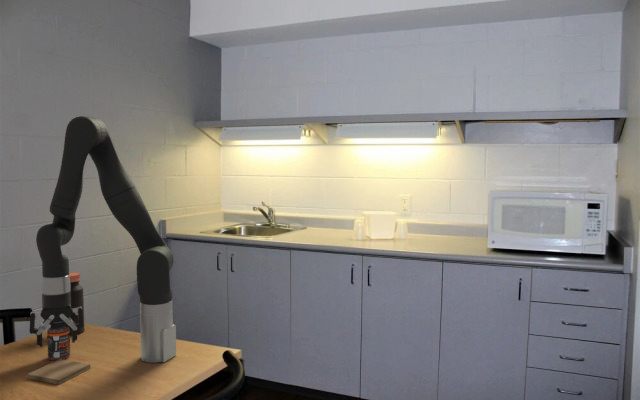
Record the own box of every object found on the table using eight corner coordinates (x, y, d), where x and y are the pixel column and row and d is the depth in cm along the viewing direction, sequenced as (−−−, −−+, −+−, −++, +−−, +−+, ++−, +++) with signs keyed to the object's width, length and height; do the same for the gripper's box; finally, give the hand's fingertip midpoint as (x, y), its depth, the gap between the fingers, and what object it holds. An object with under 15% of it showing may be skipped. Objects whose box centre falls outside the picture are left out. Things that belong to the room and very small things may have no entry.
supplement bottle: (61, 362, 151) (59, 324, 150) (43, 360, 152) (41, 323, 151) (74, 354, 156) (73, 318, 155) (57, 353, 158) (56, 316, 157)
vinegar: (77, 327, 181) (75, 271, 179) (88, 331, 177) (86, 274, 175) (58, 332, 175) (56, 274, 173) (69, 337, 171) (67, 277, 169)
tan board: (90, 368, 146) (90, 364, 146) (59, 384, 136) (58, 380, 136) (60, 362, 150) (60, 358, 150) (27, 378, 140) (27, 373, 140)
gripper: (28, 296, 146) (29, 352, 147) (83, 291, 152) (84, 344, 154) (28, 289, 152) (30, 343, 154) (82, 285, 159) (83, 336, 160)
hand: (57, 343), depth 154 cm, fingers open, 8 cm apart
